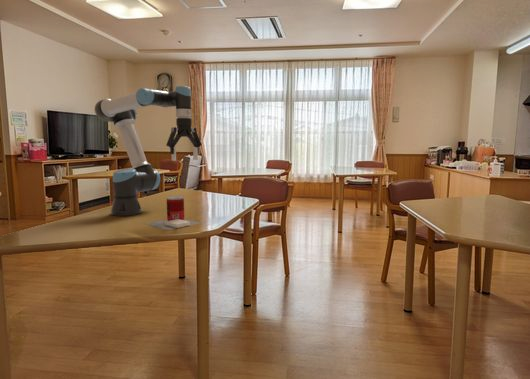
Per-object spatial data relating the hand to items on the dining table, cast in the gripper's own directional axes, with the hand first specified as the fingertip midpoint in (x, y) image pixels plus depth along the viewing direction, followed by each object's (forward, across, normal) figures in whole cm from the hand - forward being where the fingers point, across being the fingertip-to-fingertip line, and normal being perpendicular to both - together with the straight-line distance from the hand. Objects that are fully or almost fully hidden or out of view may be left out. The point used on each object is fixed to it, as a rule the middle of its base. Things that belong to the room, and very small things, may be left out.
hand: (185, 160), depth 189 cm
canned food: (+28, -14, -10) cm, 33 cm away
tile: (+27, -20, -15) cm, 36 cm away
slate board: (+29, -19, -15) cm, 38 cm away
